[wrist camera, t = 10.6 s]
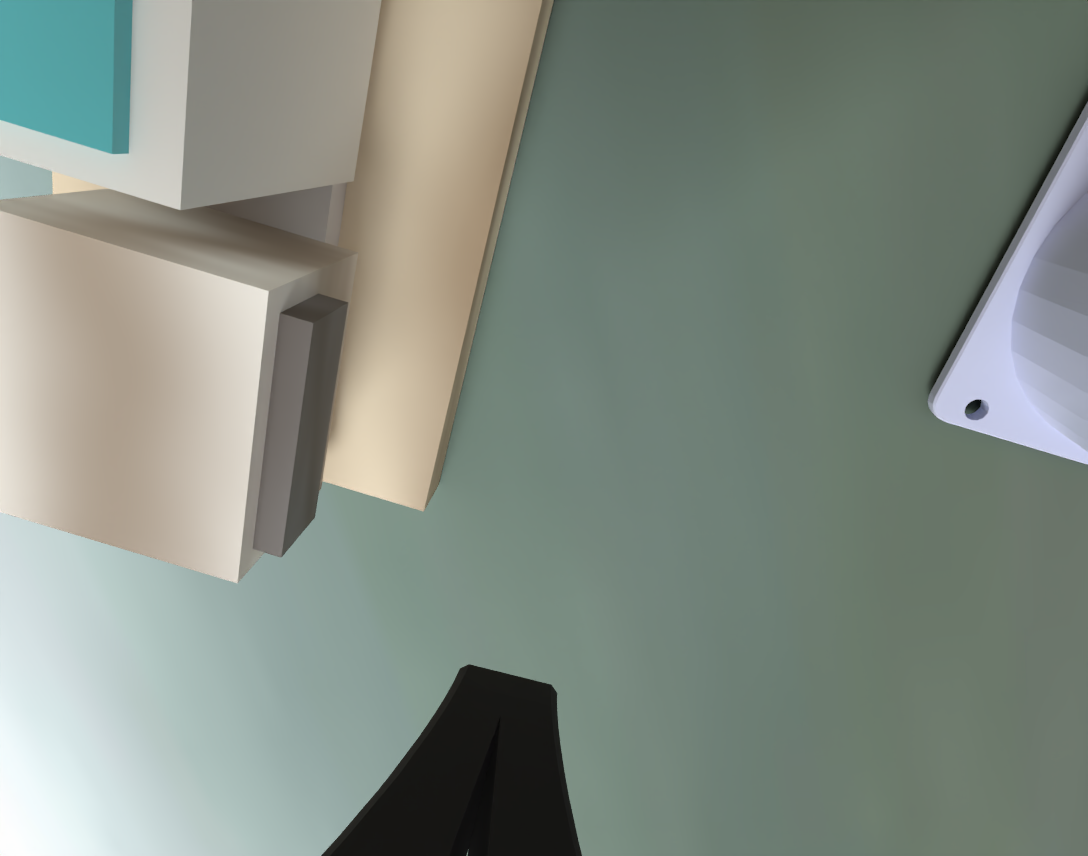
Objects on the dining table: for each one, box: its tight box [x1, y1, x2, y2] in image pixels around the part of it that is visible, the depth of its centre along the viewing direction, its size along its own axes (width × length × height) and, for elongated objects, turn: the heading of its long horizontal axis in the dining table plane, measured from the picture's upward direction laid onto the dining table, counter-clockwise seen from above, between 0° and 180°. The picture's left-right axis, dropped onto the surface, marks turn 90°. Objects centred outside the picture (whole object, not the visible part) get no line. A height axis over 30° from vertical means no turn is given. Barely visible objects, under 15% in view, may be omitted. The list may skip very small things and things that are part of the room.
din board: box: [0, 0, 554, 583], centre depth 13 cm, size 10×20×6 cm, turn 165°
